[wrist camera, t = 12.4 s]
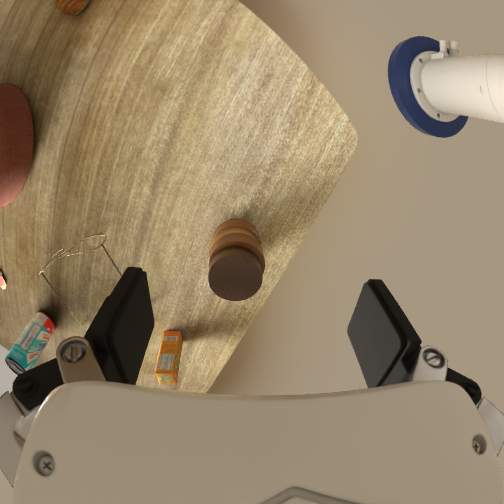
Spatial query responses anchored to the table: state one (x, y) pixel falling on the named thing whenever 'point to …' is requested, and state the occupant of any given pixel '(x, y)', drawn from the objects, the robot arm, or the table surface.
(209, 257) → the chip pile
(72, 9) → the pastry
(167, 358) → the supplement box
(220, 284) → the walnut chip
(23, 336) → the beverage can
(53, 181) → the table surface
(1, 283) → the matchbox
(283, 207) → the table surface
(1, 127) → the planter
